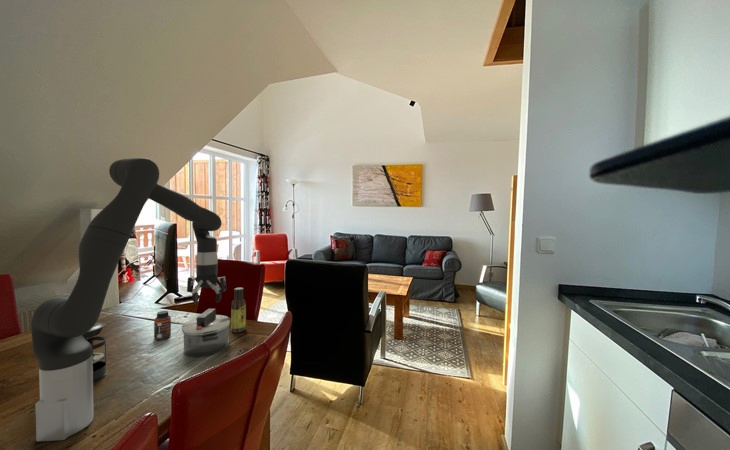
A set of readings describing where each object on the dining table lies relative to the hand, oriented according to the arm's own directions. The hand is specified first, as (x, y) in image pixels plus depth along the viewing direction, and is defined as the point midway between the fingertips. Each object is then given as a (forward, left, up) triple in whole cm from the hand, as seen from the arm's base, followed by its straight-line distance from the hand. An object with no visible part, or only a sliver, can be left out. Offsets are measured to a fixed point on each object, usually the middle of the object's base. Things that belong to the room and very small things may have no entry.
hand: (206, 302), depth 114 cm
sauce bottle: (+16, -7, -19) cm, 26 cm away
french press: (-20, +29, -19) cm, 40 cm away
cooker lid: (0, 0, -10) cm, 10 cm away
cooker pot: (0, 0, -19) cm, 19 cm away
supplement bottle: (+10, +23, -19) cm, 31 cm away
